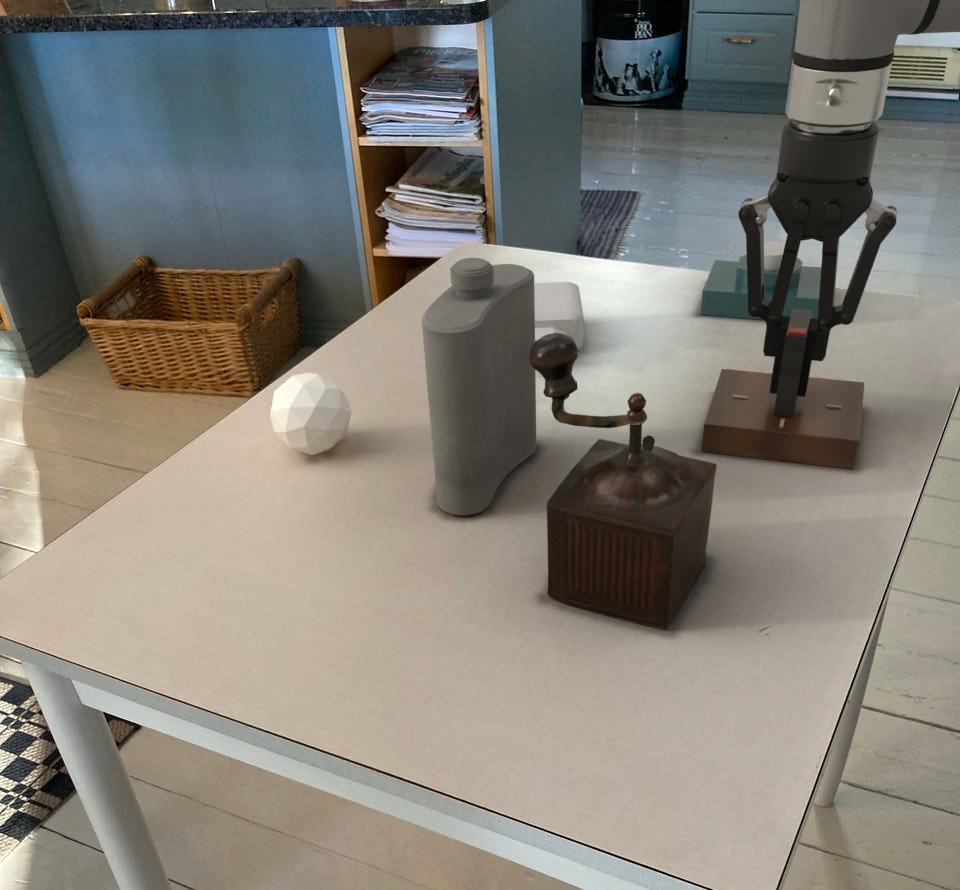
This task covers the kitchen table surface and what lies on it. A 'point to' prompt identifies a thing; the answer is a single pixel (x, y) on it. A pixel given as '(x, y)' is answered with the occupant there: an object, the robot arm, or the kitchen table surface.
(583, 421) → the manual coffee grinder
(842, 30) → the robot arm
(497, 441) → the flask
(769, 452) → the brown lever base block
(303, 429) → the geometric ball
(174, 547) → the kitchen table surface
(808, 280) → the teal nut fixture block
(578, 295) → the charger
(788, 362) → the dark upright slab
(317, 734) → the kitchen table surface
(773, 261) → the white push button
